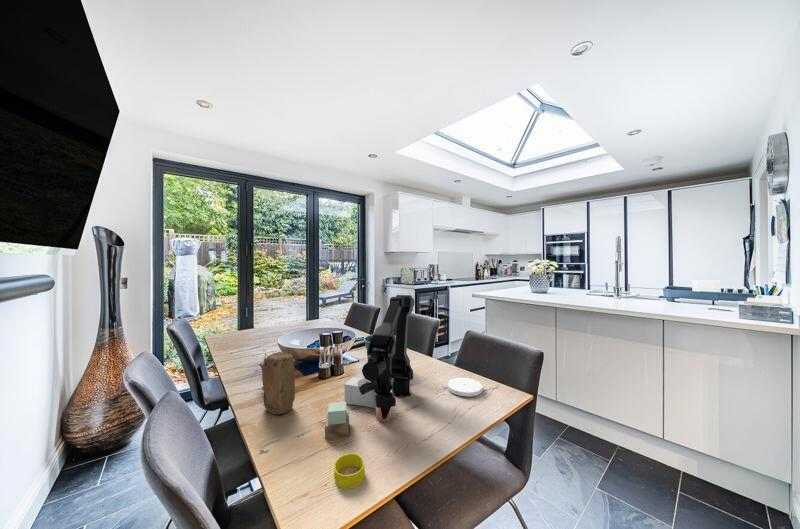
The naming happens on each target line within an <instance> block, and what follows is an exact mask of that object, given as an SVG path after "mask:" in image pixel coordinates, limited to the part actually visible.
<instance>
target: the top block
mask: <svg viewBox="0 0 800 529" xmlns="http://www.w3.org/2000/svg"><path fill="white" fill-rule="evenodd" d="M347 412H348V411H347V403H346V402H345V401H339V402H329V403H328V407H327V414H328V425H333V424H343V423H346V415H347Z"/></svg>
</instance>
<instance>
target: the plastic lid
mask: <svg viewBox="0 0 800 529" xmlns="http://www.w3.org/2000/svg"><path fill="white" fill-rule="evenodd" d="M446 385H447V386H446V387H447V390H448V391H449V392H450V393H452V394H454V395H457V396H460V397H476V396H479V395H481V394H482V393H483V384H482V383H481V382H480V381H478V380H476V379H472V378H468V377H455V378H452V379H450V380H449V381H447V383H446Z"/></svg>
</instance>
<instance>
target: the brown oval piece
mask: <svg viewBox="0 0 800 529" xmlns="http://www.w3.org/2000/svg"><path fill="white" fill-rule="evenodd" d="M391 410H392V408H391V409H390V411H389V413H388V415H387V418H386V419H383V418H382V413H381V408H377V407H375V413H376V414H375V419H376V421H378V422H380V423H381V422H383V423H385V422H388V421H390V420H391V418H392V412H391Z"/></svg>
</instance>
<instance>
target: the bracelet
mask: <svg viewBox="0 0 800 529" xmlns="http://www.w3.org/2000/svg"><path fill="white" fill-rule="evenodd" d="M363 462H364V461H363V458H362V456H361V454H360V455H359V454H358V453H353V452H351V453H347V454H342V455H341V456H339V457H338V458H337V459H336V460H335V462H334V464H333V468H334V469H333V479H334V484H335V485H337V487H340V488H342V489H352V488H357V487H358V486H359V485H360V484H361V483H363V481H364V479H365V463H363ZM346 467H347V468H348V467H357V468H359V470H357V471H356V472H355V473H352V474H341V473H339V472H340V471H341V470H342V469H345V468H346Z"/></svg>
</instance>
